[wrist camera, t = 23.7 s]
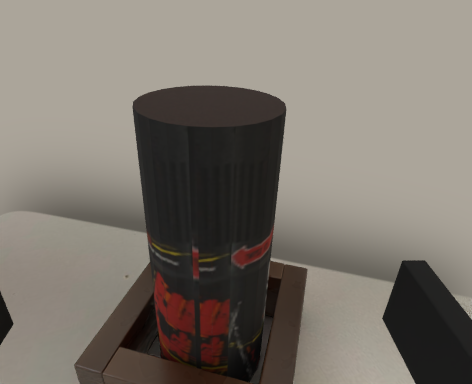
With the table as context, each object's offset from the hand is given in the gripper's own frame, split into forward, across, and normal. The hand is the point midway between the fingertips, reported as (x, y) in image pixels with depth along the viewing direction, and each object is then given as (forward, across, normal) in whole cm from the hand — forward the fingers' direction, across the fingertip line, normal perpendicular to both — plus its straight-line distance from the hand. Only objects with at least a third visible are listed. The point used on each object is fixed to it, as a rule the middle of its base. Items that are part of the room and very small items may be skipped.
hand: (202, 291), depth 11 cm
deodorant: (+5, 0, -10) cm, 12 cm away
